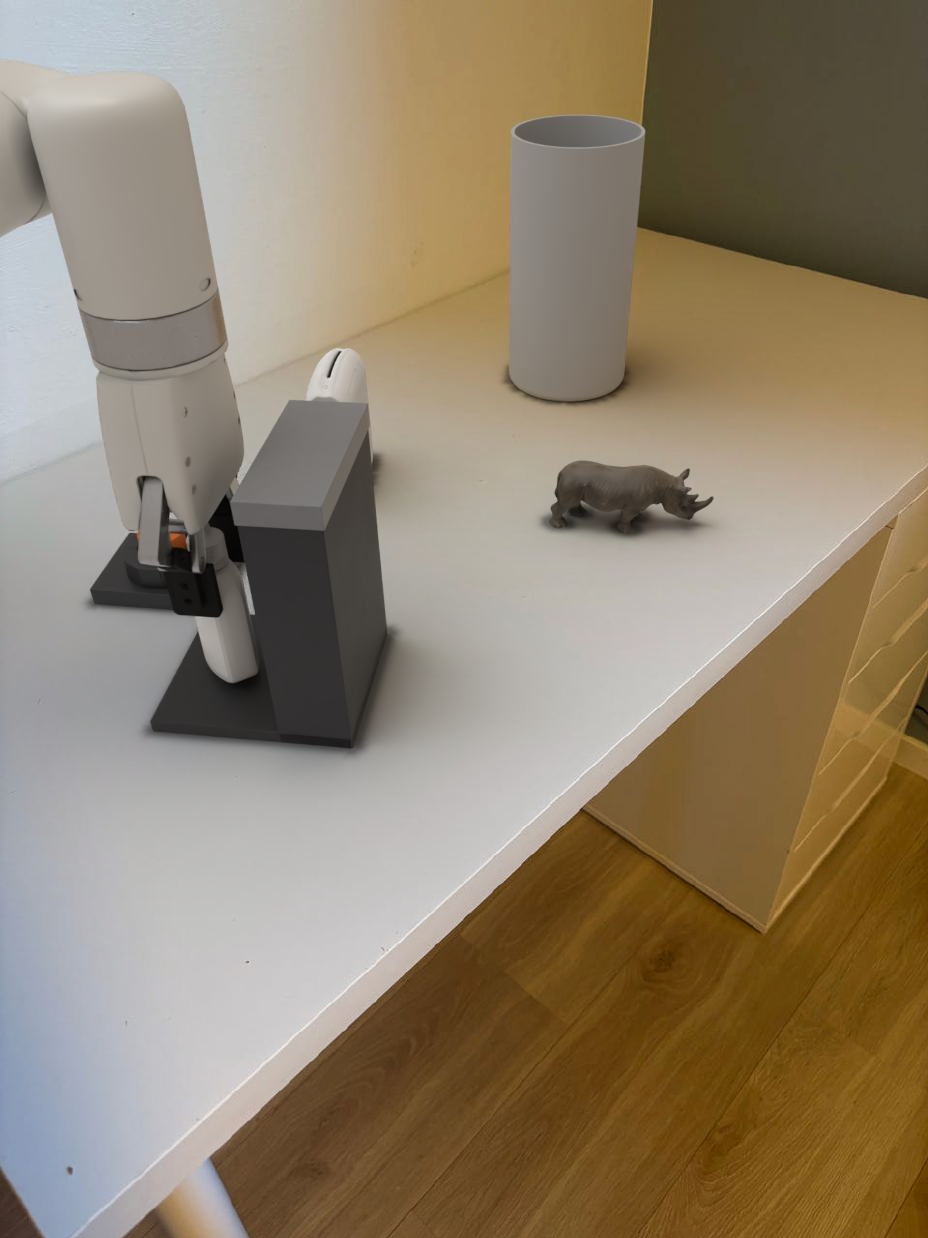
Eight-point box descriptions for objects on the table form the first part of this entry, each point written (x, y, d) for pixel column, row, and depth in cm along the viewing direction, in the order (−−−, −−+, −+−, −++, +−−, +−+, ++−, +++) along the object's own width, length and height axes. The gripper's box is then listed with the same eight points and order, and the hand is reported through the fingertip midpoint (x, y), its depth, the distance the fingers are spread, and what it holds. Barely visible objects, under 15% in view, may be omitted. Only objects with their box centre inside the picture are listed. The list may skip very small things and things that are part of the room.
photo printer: (360, 516, 88) (347, 388, 81) (313, 514, 89) (295, 387, 81) (378, 457, 96) (367, 335, 89) (334, 456, 97) (320, 335, 89)
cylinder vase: (485, 377, 109) (483, 131, 93) (564, 344, 116) (575, 108, 100) (567, 416, 102) (580, 156, 86) (647, 378, 108) (673, 129, 92)
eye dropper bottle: (194, 688, 69) (157, 545, 61) (207, 635, 73) (174, 496, 66) (258, 685, 69) (228, 542, 61) (267, 633, 73) (240, 494, 66)
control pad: (94, 606, 79) (83, 571, 77) (133, 548, 85) (124, 514, 83) (215, 614, 78) (207, 579, 76) (246, 555, 84) (239, 521, 82)
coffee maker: (152, 734, 68) (76, 492, 56) (211, 622, 77) (157, 393, 65) (354, 752, 66) (321, 506, 54) (389, 635, 76) (368, 402, 63)
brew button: (134, 560, 79) (129, 542, 77) (151, 535, 81) (146, 517, 80) (178, 563, 78) (173, 545, 77) (193, 537, 81) (189, 519, 80)
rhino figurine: (710, 543, 84) (720, 482, 80) (547, 533, 86) (550, 472, 82) (707, 516, 87) (717, 456, 83) (551, 507, 89) (553, 448, 85)
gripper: (149, 269, 62) (203, 512, 74) (19, 393, 49) (109, 666, 61) (265, 272, 61) (301, 518, 73) (164, 400, 48) (228, 675, 60)
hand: (214, 583), depth 67 cm, fingers closed on eye dropper bottle, 5 cm apart
